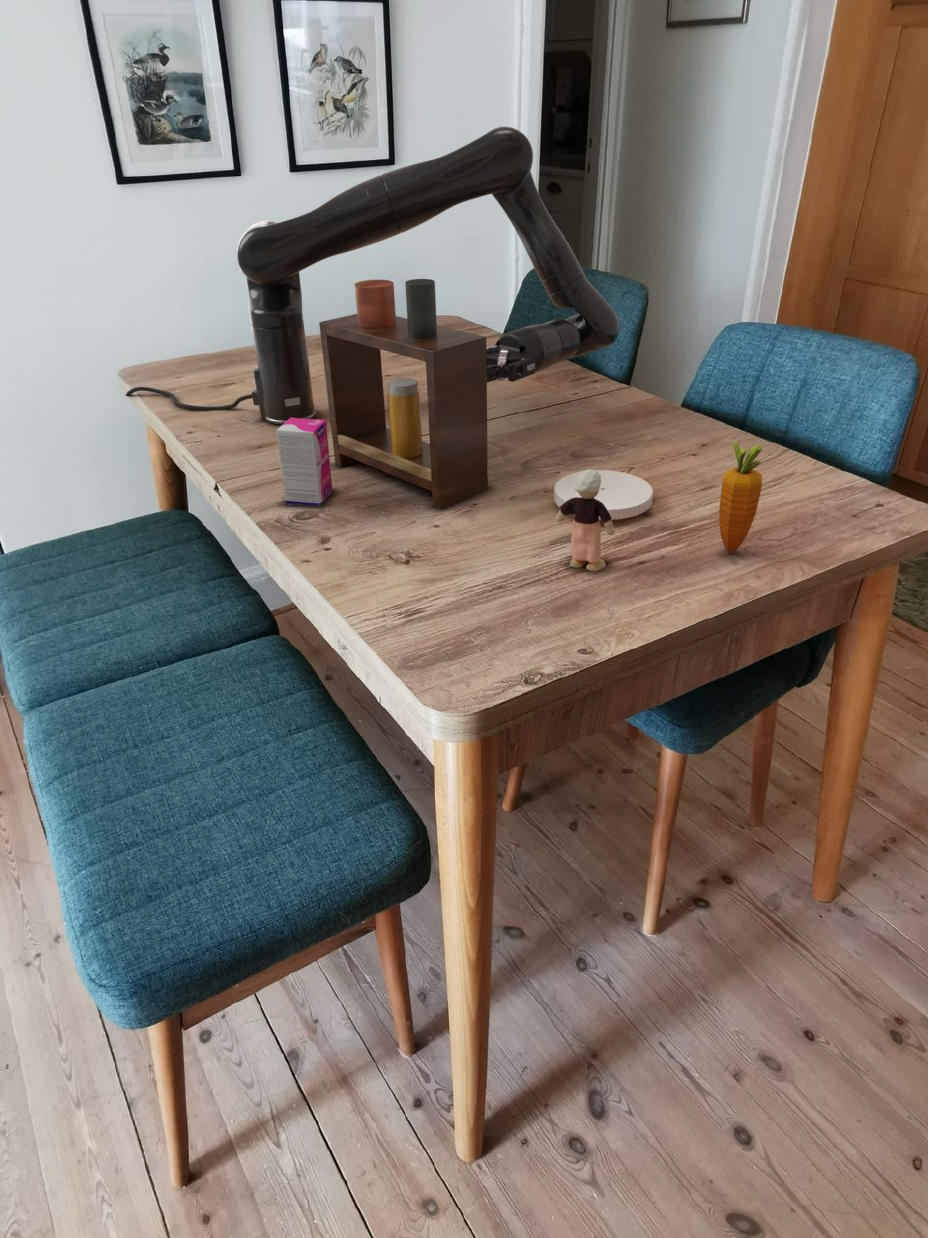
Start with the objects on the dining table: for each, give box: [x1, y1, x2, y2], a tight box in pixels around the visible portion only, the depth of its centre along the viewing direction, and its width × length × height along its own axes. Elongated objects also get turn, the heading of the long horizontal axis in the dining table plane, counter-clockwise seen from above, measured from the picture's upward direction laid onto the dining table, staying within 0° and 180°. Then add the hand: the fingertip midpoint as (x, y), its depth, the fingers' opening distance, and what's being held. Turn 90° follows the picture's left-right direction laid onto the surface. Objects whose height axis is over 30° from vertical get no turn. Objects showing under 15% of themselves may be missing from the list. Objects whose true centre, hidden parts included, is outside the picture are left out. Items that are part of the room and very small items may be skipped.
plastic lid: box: [553, 469, 654, 521], centre depth 120 cm, size 14×14×2 cm
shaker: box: [387, 377, 423, 458], centre depth 126 cm, size 5×5×11 cm
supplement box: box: [275, 418, 333, 507], centre depth 122 cm, size 6×6×12 cm
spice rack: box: [318, 278, 489, 510], centre depth 123 cm, size 25×10×30 cm, turn 44°
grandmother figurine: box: [555, 468, 616, 572], centre depth 103 cm, size 8×4×13 cm, turn 71°
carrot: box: [718, 441, 763, 555], centre depth 103 cm, size 5×5×15 cm
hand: (459, 372), depth 130 cm, fingers open, 8 cm apart
